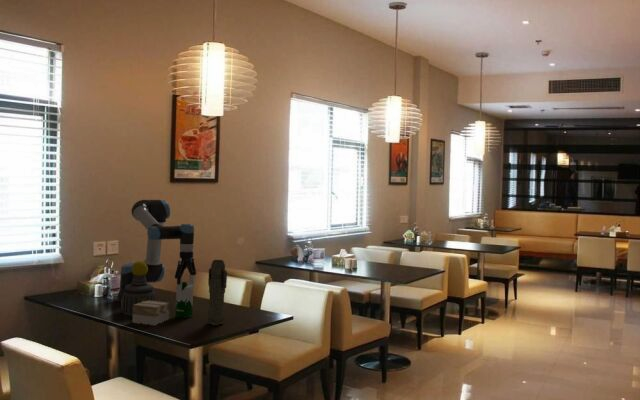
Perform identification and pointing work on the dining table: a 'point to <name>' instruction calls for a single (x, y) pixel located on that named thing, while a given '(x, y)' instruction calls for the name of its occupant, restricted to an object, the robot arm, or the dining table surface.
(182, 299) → the soya milk
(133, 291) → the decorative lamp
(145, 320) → the tower base
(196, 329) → the dining table surface
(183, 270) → the robot arm
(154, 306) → the tower top
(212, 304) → the dark figurine statue
